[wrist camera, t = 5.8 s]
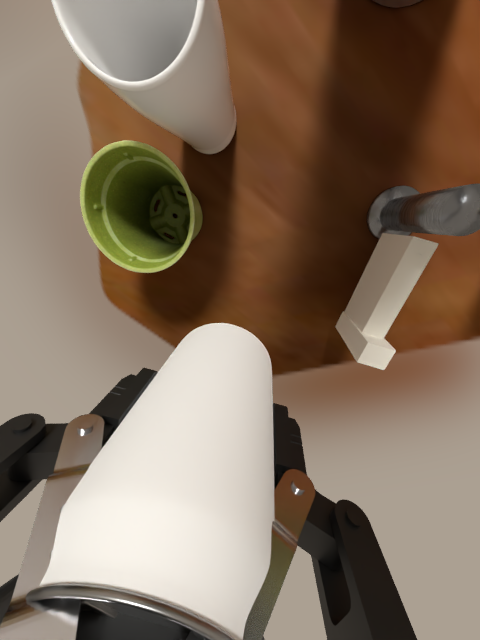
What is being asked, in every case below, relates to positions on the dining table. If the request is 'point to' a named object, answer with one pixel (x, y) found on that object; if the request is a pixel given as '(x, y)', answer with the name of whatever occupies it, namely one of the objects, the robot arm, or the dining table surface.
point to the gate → (382, 296)
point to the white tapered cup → (159, 62)
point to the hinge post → (426, 211)
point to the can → (178, 496)
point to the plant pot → (138, 207)
